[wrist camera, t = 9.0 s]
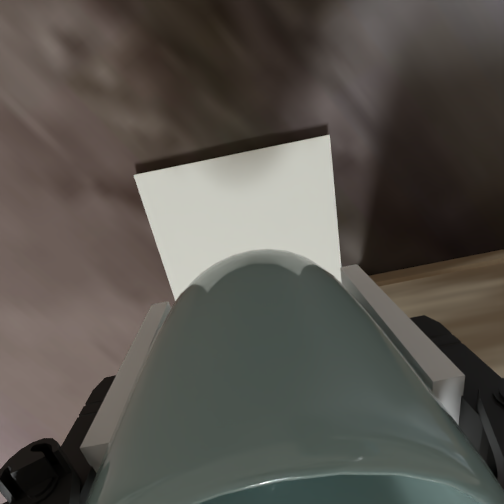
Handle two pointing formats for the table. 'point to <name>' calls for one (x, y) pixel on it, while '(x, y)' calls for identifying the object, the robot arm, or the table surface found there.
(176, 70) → the table surface
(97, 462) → the robot arm
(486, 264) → the wooden board
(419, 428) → the cup
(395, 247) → the table surface
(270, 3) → the table surface
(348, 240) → the table surface
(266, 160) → the pad
